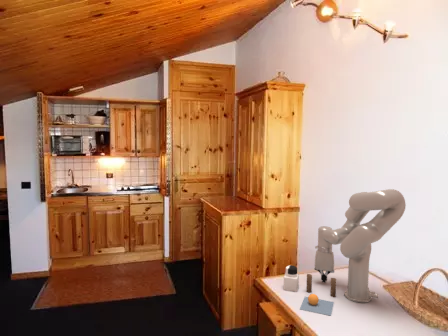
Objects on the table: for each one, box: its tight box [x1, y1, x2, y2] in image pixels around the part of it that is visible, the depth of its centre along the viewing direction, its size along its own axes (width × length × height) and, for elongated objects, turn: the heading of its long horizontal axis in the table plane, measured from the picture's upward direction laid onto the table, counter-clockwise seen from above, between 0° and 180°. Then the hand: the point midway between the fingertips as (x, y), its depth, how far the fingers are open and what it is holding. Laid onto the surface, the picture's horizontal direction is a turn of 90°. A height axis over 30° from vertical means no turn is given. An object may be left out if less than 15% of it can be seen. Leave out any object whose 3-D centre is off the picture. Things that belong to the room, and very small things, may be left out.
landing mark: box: [299, 296, 335, 317], centre depth 154 cm, size 14×14×1 cm
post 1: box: [306, 273, 313, 294], centre depth 169 cm, size 3×3×9 cm
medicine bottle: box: [283, 265, 300, 293], centre depth 173 cm, size 7×7×12 cm
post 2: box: [329, 277, 337, 298], centre depth 164 cm, size 3×3×9 cm
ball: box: [307, 293, 320, 305], centre depth 155 cm, size 5×5×5 cm
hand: (324, 281), depth 179 cm, fingers closed
